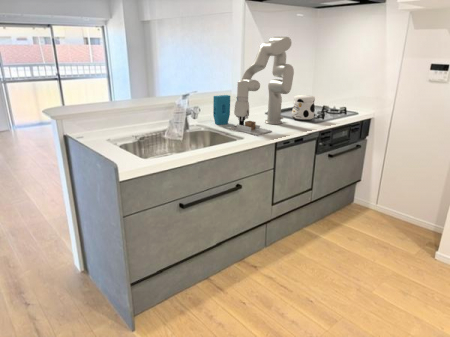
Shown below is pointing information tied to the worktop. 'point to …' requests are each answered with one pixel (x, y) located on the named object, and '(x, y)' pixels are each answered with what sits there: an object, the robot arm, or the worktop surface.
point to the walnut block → (250, 124)
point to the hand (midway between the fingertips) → (241, 126)
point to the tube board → (248, 130)
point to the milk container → (303, 107)
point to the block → (221, 109)
